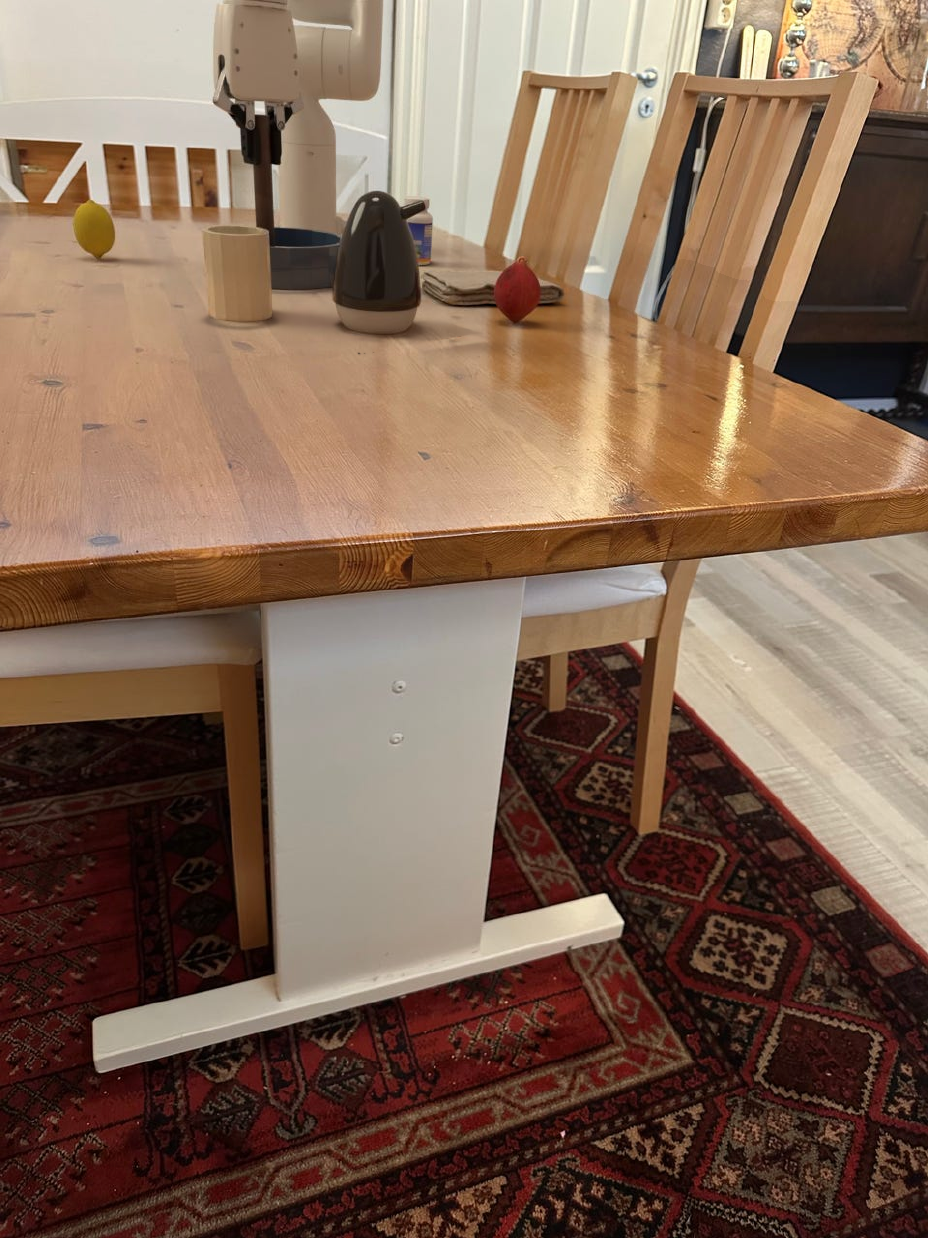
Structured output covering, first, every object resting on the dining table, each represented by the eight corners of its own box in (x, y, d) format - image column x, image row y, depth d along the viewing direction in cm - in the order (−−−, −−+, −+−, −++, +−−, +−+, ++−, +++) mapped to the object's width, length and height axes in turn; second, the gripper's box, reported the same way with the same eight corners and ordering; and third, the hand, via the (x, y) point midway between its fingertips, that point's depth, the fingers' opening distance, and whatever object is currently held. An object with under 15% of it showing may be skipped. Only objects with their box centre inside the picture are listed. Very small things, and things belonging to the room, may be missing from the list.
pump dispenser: (428, 344, 102) (434, 198, 95) (336, 343, 100) (335, 193, 92) (414, 322, 111) (418, 187, 103) (329, 321, 109) (327, 182, 101)
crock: (251, 311, 111) (246, 223, 105) (284, 324, 106) (280, 233, 101) (198, 317, 106) (190, 226, 101) (229, 330, 102) (223, 236, 97)
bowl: (302, 266, 137) (301, 224, 134) (372, 288, 127) (372, 243, 124) (197, 275, 127) (193, 229, 124) (264, 300, 116) (261, 251, 113)
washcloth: (415, 288, 129) (416, 265, 127) (528, 287, 135) (530, 265, 133) (444, 307, 120) (445, 283, 118) (564, 305, 126) (567, 282, 124)
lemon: (110, 263, 130) (102, 203, 126) (72, 260, 130) (63, 200, 126) (123, 257, 135) (116, 198, 131) (86, 254, 135) (78, 195, 131)
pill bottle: (391, 262, 145) (393, 196, 140) (406, 258, 150) (408, 194, 145) (422, 267, 144) (425, 200, 139) (436, 262, 148) (439, 197, 143)
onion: (505, 329, 111) (511, 260, 107) (483, 318, 115) (488, 252, 111) (545, 327, 114) (552, 260, 110) (522, 316, 118) (528, 251, 114)
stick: (269, 261, 125) (263, 114, 116) (279, 264, 124) (273, 115, 115) (254, 262, 124) (247, 113, 115) (264, 265, 122) (257, 114, 113)
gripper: (294, 0, 115) (298, 161, 125) (177, -15, 105) (191, 160, 115) (327, 0, 111) (329, 166, 120) (209, -16, 101) (221, 167, 110)
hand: (262, 162), depth 117 cm, fingers closed on stick, 2 cm apart
